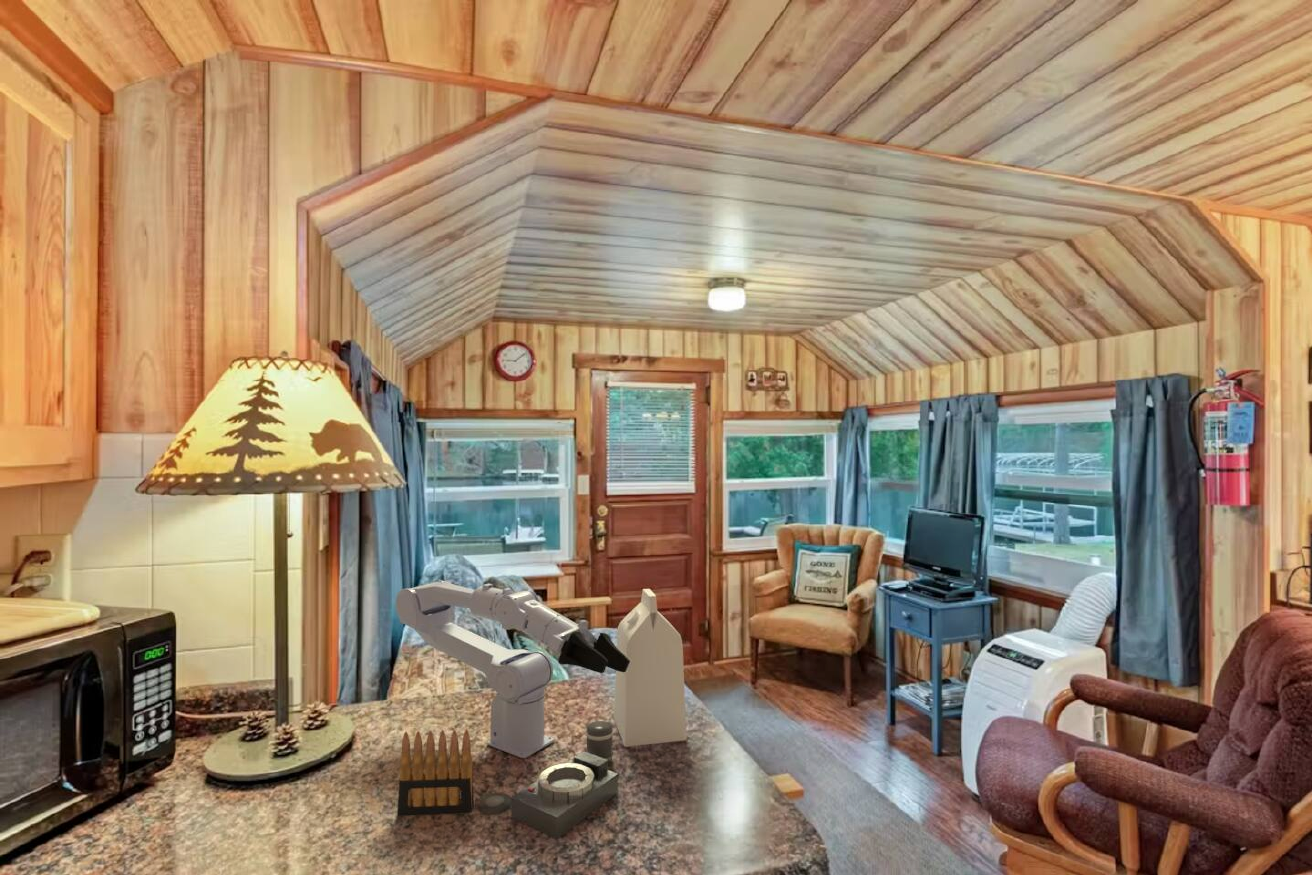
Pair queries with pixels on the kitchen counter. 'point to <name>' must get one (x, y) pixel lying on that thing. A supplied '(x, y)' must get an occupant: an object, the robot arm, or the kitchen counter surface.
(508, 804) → the lens cap
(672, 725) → the milk
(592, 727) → the lens
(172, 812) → the kitchen counter surface
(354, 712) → the kitchen counter surface
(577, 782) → the camera body
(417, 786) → the ammunition clip
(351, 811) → the kitchen counter surface
